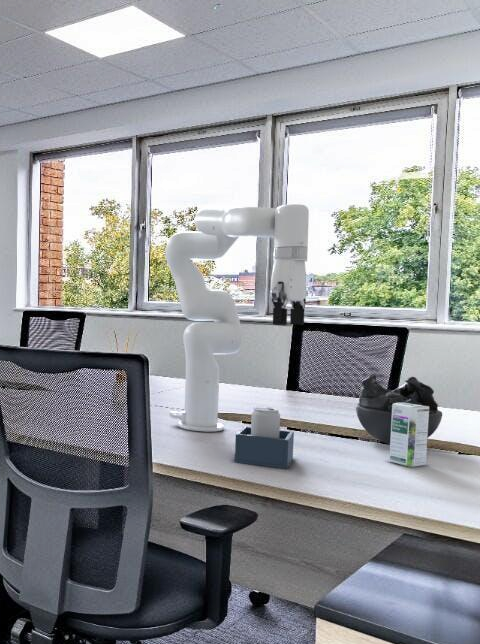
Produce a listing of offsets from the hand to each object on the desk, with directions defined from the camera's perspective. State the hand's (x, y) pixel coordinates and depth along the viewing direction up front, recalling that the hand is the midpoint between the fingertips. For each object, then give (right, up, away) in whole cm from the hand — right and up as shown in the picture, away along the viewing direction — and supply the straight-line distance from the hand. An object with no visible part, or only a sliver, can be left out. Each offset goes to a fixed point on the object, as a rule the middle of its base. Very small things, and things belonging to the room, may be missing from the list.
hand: (288, 324), depth 173 cm
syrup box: (+27, -34, -4) cm, 44 cm away
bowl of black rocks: (+37, -33, +17) cm, 52 cm away
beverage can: (-7, -33, -3) cm, 33 cm away
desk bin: (-7, -33, -3) cm, 34 cm away
